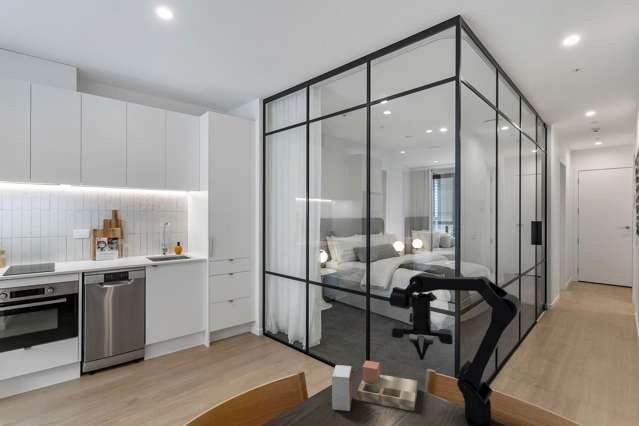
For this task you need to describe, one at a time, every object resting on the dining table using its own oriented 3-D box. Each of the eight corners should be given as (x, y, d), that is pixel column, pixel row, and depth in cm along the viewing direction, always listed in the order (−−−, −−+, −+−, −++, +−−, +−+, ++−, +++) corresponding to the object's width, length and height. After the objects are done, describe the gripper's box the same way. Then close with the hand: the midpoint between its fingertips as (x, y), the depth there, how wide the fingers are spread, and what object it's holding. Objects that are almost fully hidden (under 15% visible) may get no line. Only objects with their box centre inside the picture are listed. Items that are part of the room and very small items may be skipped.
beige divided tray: (417, 389, 112) (417, 380, 112) (414, 411, 99) (414, 401, 99) (366, 380, 118) (366, 372, 118) (357, 399, 106) (357, 390, 106)
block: (379, 376, 115) (379, 362, 115) (377, 383, 110) (376, 369, 110) (365, 374, 117) (365, 360, 117) (362, 381, 112) (362, 366, 112)
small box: (349, 411, 100) (349, 377, 100) (332, 409, 101) (331, 376, 101) (352, 397, 107) (352, 365, 107) (335, 395, 109) (335, 364, 109)
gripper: (451, 307, 110) (452, 353, 110) (395, 303, 117) (396, 346, 117) (452, 318, 100) (452, 368, 100) (391, 312, 106) (391, 359, 106)
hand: (421, 359), depth 106 cm, fingers closed
